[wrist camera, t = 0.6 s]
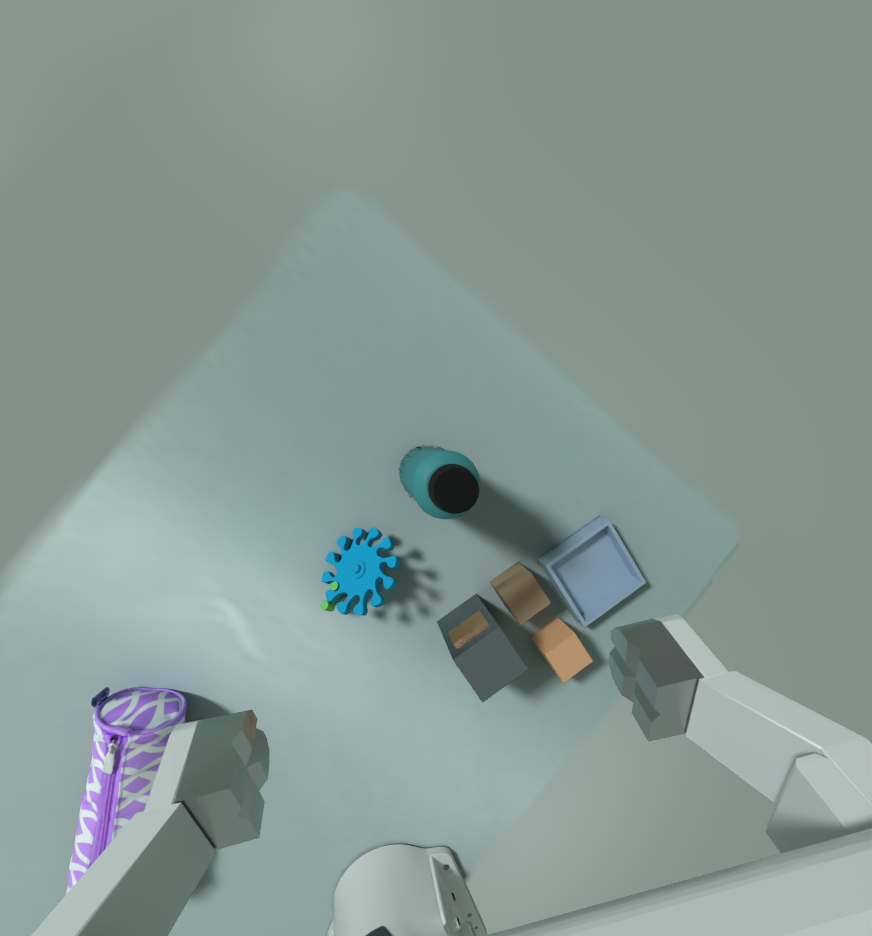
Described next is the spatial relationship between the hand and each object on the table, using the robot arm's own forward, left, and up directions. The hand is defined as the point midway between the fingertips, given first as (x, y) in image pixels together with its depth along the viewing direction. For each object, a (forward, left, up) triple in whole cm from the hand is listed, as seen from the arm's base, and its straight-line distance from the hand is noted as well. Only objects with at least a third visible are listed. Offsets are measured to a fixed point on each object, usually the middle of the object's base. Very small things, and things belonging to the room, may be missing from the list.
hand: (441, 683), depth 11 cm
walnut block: (-22, -7, -47) cm, 52 cm away
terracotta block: (-31, -7, -47) cm, 57 cm away
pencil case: (-14, +41, -47) cm, 64 cm away
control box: (-23, +1, -47) cm, 52 cm away
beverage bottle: (-3, -5, -47) cm, 47 cm away
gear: (-8, +8, -47) cm, 48 cm away
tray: (-26, -16, -47) cm, 56 cm away
